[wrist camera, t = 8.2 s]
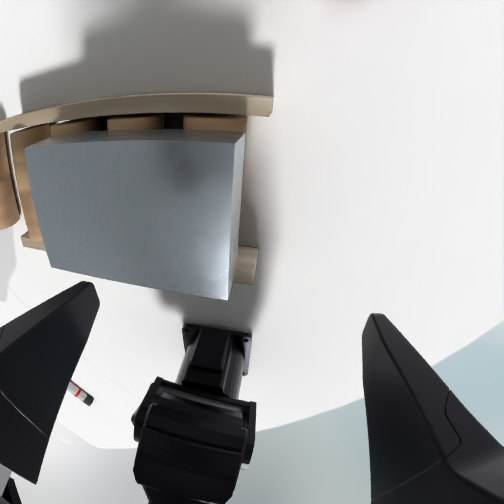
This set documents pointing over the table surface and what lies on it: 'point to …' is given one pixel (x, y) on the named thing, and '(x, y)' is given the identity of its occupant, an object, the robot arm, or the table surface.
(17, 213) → the roller
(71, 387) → the marker
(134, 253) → the slab
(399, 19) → the table surface
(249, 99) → the roller bed
